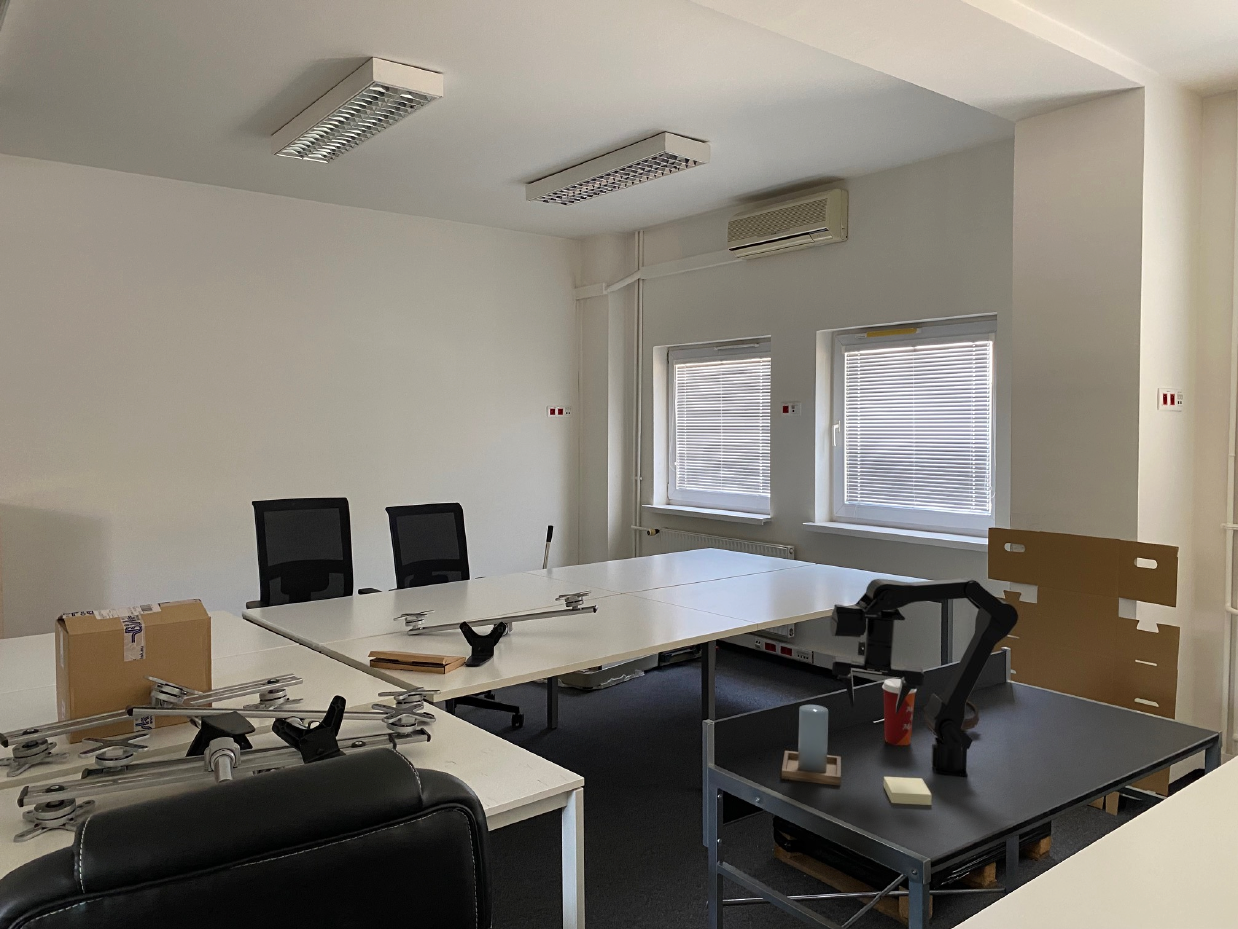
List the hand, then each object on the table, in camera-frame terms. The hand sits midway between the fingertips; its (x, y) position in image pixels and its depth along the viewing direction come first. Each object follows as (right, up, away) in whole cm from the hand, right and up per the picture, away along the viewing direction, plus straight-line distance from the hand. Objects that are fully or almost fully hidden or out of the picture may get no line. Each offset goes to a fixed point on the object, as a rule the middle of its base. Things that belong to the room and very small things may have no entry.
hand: (874, 709), depth 186 cm
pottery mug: (+27, -12, +27) cm, 40 cm away
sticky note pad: (+3, -14, -12) cm, 19 cm away
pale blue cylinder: (-14, -12, -1) cm, 19 cm away
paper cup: (+10, -12, +17) cm, 23 cm away
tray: (-14, -13, -1) cm, 19 cm away
